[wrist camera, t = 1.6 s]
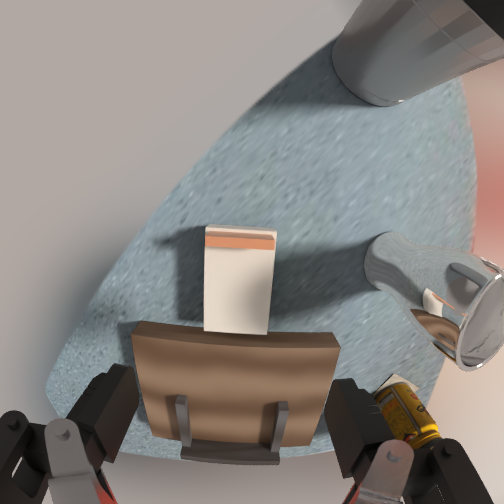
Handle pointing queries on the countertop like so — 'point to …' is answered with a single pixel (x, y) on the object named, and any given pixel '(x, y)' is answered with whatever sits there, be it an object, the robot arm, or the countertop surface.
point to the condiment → (406, 413)
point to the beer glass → (443, 295)
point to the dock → (233, 389)
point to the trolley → (238, 278)
